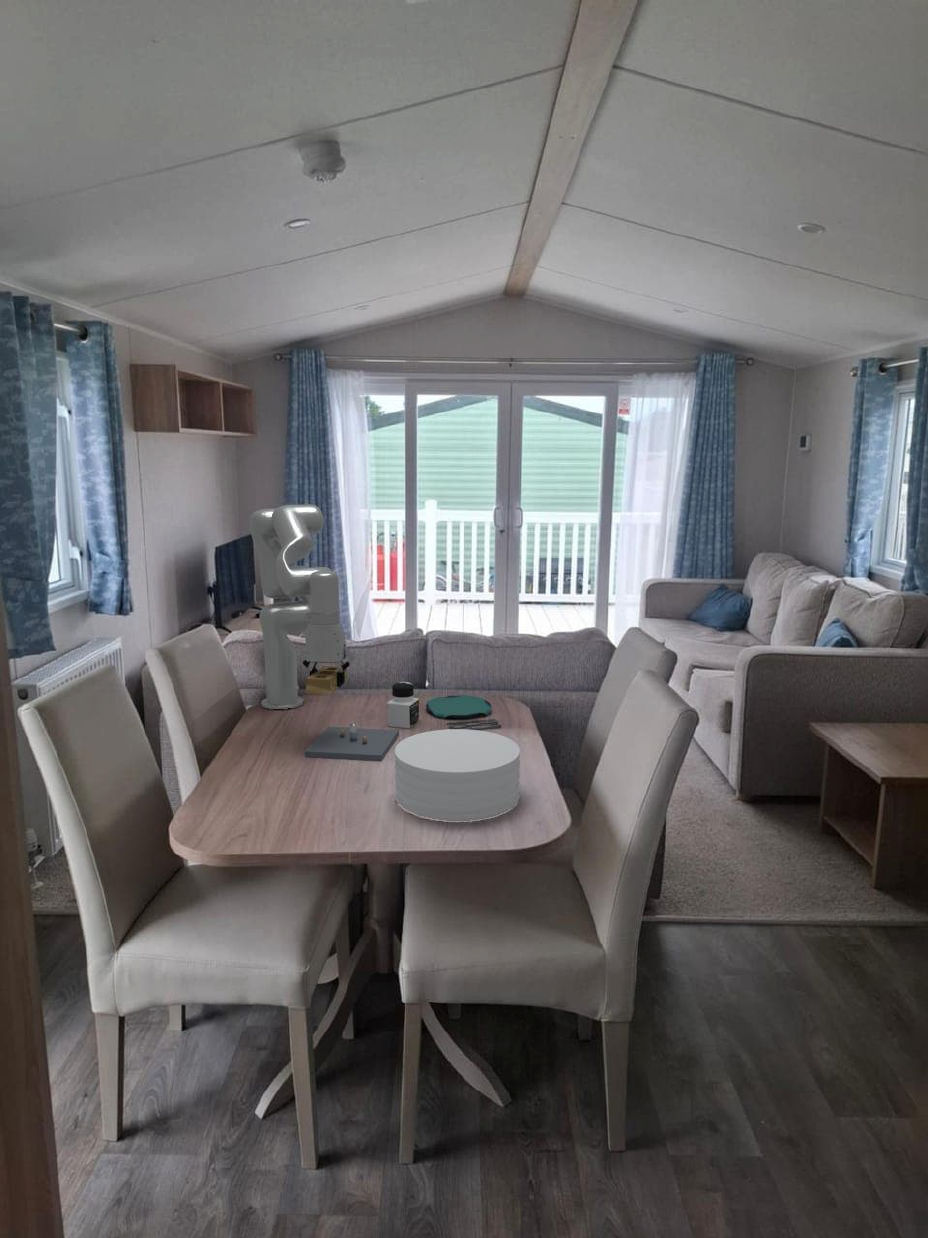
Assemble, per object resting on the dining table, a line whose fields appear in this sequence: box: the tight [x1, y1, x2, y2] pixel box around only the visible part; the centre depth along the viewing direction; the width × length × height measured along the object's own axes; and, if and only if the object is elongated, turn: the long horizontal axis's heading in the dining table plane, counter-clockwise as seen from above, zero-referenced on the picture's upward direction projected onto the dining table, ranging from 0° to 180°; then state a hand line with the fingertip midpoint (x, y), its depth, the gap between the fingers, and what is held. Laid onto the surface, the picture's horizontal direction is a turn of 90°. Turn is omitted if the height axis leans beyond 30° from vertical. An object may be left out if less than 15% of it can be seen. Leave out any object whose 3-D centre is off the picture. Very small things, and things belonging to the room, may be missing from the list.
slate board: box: [304, 726, 400, 762], centre depth 224 cm, size 20×20×2 cm
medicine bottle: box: [386, 681, 420, 729], centre depth 241 cm, size 7×7×12 cm
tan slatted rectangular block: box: [305, 665, 348, 696], centre depth 223 cm, size 14×6×4 cm, turn 170°
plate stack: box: [394, 728, 521, 821], centre depth 190 cm, size 28×28×12 cm
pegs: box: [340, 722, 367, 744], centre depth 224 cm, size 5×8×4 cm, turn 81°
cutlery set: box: [425, 694, 502, 731], centre depth 251 cm, size 20×30×2 cm, turn 13°
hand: (327, 684), depth 223 cm, fingers closed on tan slatted rectangular block, 6 cm apart
